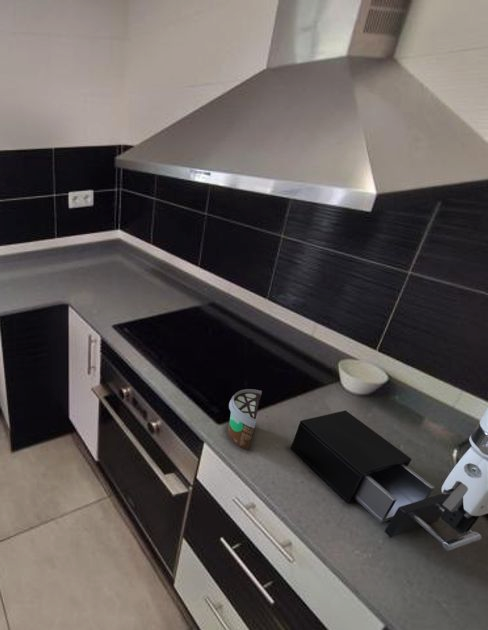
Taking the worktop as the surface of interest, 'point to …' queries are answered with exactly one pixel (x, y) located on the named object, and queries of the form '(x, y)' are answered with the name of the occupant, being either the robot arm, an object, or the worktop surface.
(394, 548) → the worktop surface
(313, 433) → the mini drawer cabinet
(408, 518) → the drawer
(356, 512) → the worktop surface
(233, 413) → the food container
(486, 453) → the robot arm
